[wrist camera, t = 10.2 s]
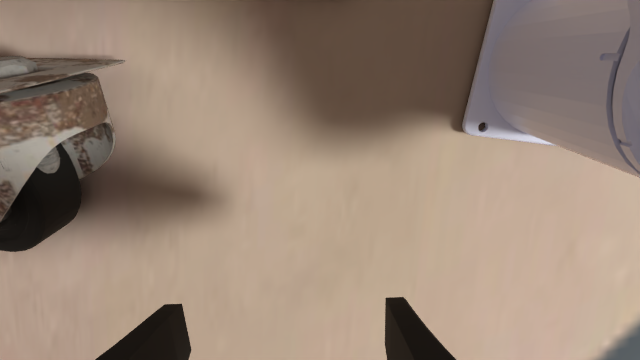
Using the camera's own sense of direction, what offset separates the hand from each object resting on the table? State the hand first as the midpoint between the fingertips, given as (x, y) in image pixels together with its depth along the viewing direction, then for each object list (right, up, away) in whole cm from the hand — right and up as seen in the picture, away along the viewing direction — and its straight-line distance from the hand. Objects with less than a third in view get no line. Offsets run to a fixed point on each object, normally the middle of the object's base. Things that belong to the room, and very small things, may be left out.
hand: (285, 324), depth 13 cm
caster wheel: (-14, +7, +8) cm, 18 cm away
